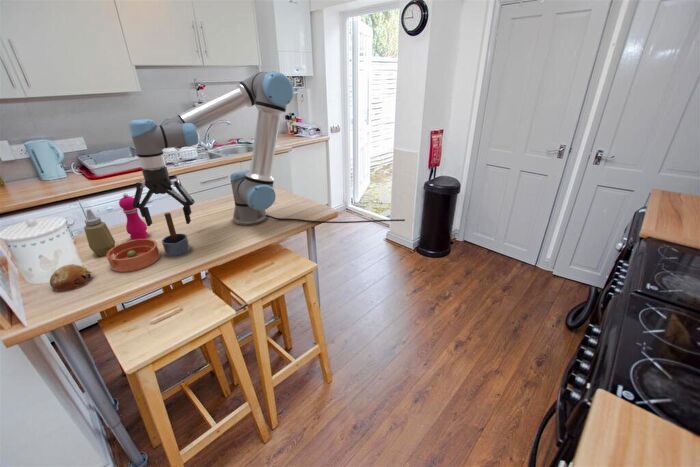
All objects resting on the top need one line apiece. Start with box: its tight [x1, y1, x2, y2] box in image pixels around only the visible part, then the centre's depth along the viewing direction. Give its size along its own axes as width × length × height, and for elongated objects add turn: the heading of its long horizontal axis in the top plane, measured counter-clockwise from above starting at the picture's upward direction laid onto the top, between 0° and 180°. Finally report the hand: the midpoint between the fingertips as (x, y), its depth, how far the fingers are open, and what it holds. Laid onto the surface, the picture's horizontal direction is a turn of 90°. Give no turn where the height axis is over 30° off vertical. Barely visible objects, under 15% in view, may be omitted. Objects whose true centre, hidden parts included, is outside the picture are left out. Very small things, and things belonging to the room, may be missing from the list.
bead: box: [127, 250, 137, 258], centre depth 118 cm, size 3×3×3 cm
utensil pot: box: [161, 233, 191, 258], centre depth 123 cm, size 9×9×6 cm
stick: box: [164, 211, 178, 243], centre depth 120 cm, size 2×2×16 cm
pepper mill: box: [118, 193, 149, 240], centre depth 130 cm, size 7×7×20 cm
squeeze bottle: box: [83, 208, 116, 257], centre depth 120 cm, size 8×8×18 cm
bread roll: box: [49, 263, 92, 292], centre depth 105 cm, size 10×10×8 cm
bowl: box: [105, 238, 161, 273], centre depth 116 cm, size 16×16×6 cm
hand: (169, 223), depth 118 cm, fingers open, 13 cm apart
